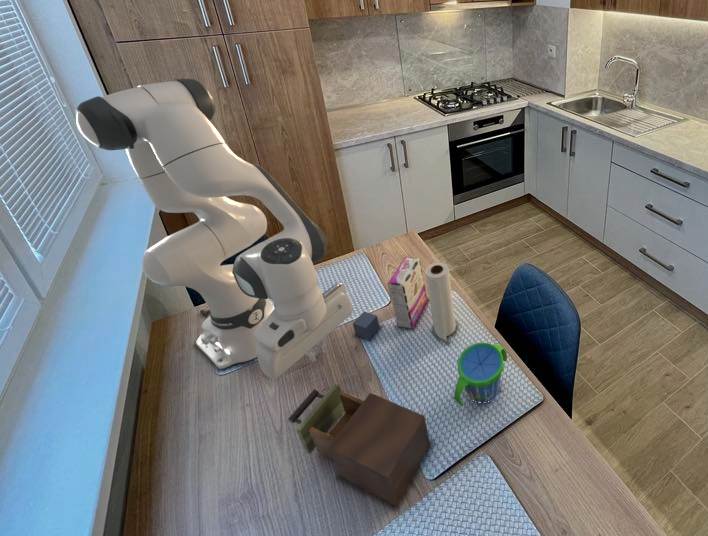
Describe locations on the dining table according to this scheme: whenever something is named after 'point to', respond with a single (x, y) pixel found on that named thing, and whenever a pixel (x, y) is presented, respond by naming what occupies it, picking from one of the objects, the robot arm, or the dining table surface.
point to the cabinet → (381, 448)
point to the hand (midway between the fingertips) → (317, 355)
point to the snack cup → (480, 372)
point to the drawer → (324, 418)
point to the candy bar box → (407, 292)
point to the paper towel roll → (440, 299)
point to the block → (366, 325)
